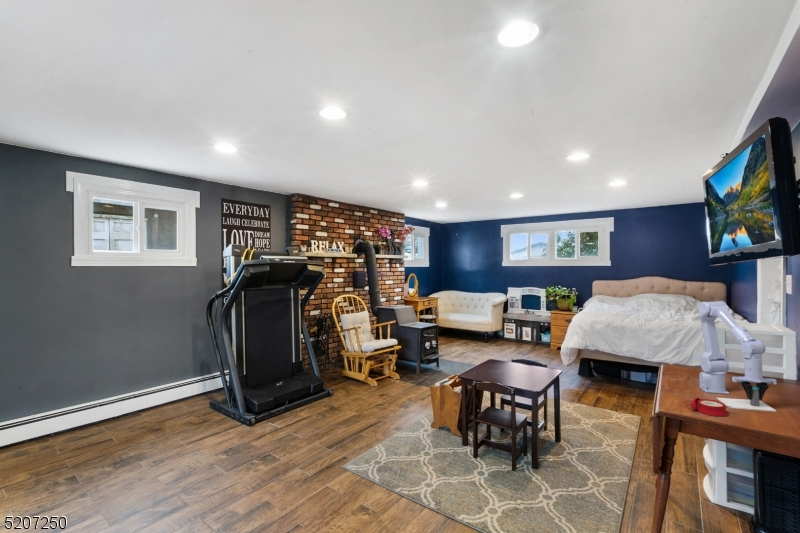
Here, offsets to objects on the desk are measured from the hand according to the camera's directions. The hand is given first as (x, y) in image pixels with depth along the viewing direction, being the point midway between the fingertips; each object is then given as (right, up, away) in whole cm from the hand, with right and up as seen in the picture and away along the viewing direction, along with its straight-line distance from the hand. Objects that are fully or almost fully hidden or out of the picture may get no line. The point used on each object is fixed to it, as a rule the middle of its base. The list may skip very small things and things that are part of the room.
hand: (754, 399), depth 163 cm
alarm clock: (-23, -5, -2) cm, 24 cm away
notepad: (-2, -3, +2) cm, 4 cm away
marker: (0, -2, 0) cm, 2 cm away
